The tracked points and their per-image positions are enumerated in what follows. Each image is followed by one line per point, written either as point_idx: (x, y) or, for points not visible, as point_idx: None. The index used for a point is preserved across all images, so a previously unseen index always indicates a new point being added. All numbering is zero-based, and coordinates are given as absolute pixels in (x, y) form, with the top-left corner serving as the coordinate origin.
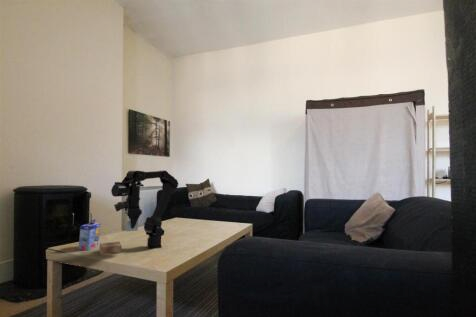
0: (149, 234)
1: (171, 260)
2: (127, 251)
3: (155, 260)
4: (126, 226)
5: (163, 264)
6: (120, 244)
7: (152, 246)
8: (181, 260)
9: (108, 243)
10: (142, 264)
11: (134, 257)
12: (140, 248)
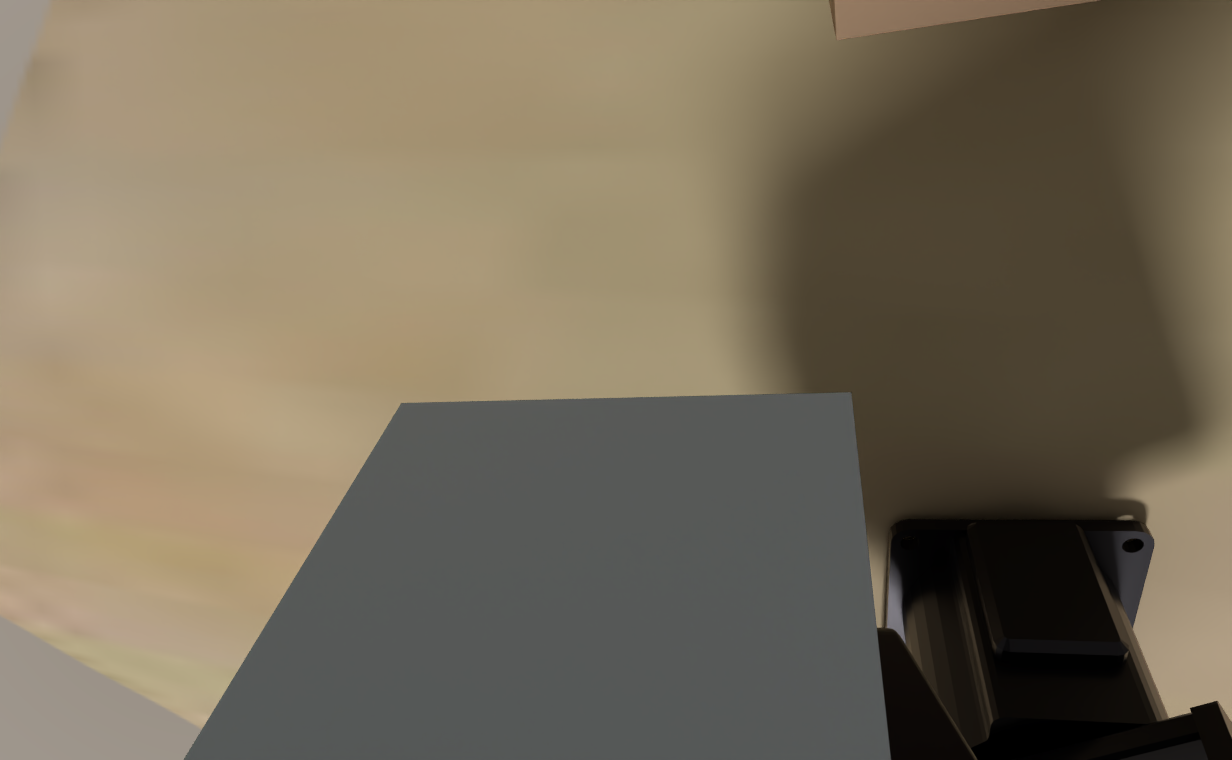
0: (1099, 751)
1: (205, 630)
2: (904, 141)
3: (213, 496)
4: (607, 515)
5: (57, 541)
6: (974, 8)
7: (921, 584)
8: (201, 697)
9: None
10: (39, 341)
11: (401, 258)
12: (1026, 393)
